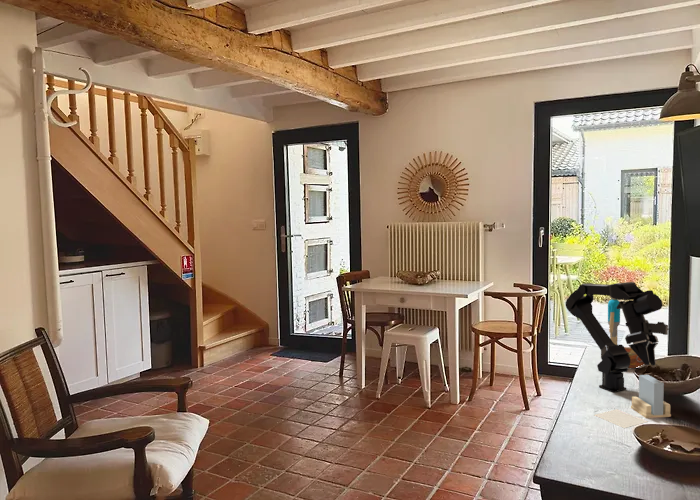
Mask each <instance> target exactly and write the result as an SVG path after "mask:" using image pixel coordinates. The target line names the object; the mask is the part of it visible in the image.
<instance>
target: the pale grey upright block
mask: <svg viewBox="0 0 700 500" xmlns="http://www.w3.org/2000/svg"><path fill="white" fill-rule="evenodd" d="M664 386H665V383H664V382H663V381H660V380H659V379H657V378H655V377H653V376H652V375H649V374H639V375H638V398H640V399H641V400H643V401H644V402H646V403H648V404H649V405H651V414H652V415H663V401H664V394H665V393H664V391H665V389H664Z"/></svg>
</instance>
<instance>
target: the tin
mask: <svg viewBox="0 0 700 500" xmlns="http://www.w3.org/2000/svg"><path fill="white" fill-rule="evenodd" d="M624 348H625V350H626V351H627V352H628V353H629V354H628V355H629V357H630V359H631V362H630V366H629V368H636V367H638V366H641V365H643V364H644V362H643V361H642V360H641V359H640V358H639V357H638V355H637V354H636V353H635V352H634V351H633V350H632V349H631V348H630V347H629V346H624Z"/></svg>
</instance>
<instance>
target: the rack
mask: <svg viewBox="0 0 700 500" xmlns="http://www.w3.org/2000/svg"><path fill="white" fill-rule="evenodd" d="M630 409H632V410H633V411H635V412H636V413H637V414H639V415H641V416H642V417H643V418H645V419H649V418H650V419H651V418H669V417H672V414H671V404H670V403H668V402H666V401H665V400H663V415H652V414H651V405H649V404H648V403H646V402H644V401H643V400H641V399H640V398H639V396H631V405H630Z"/></svg>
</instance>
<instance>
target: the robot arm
mask: <svg viewBox="0 0 700 500" xmlns="http://www.w3.org/2000/svg"><path fill="white" fill-rule="evenodd" d="M595 295H597V296H607V297H611V298H614V299H617V300H618V301H619V304H618V306H617V309H620V310H622V313H623V315H624V316H623V317H624V319H625V322H624V323H625V326H626V327H627V329H628V332H629V334H626V336H625V337H624V340H625V342H626V344H627V345H628V347H630V348H631V349H632V350H633V351H634V352H635V353H636V354H637V355H638V357H639V358H640V359H641V360H642V361H643V362H644V364H645V365H646V366H649V365H651V366H656V354H655V353H656V351H655V349H656V347H657V345H658V344H659V341H660V340H659V339H658V336H657V335H655V334H661V335H665V336H668V334H669V330H670V329H669V325H668V324H666V323H665V322H664V321H657V323H652V322H649V320H648V319H646V318H645V315H646V316H647V315H649V314H651V313H655V312H657V311H660V310H661V309H662V308H663V301H662V299H661V298H660V297H659V296H658V295H657V294H655V293H654V291H653V290H651V289H650V290H646V291H643V290H642V289H641V288H640V287H638V285H636V282H634V281H628V282H626V281H625V282H617V283H612V284H607V283H606V284H605V283H604V284H603V283H592V282H589V283H581V284H580V285H579V286H578V287H577V289H575V290H574V291H573V292H572V293H571V294H569V296H568V298H566V301H565V307H566V309H567V311H568V312H569V313H570V315H572V316H573V317H575V318H577V319H579V320H580V321H581V323H582V324H583V326H584V327H585V329H586V331H588V333H589V334H590V336H591V337H592V339H593V340H594V342H595V343H596V345H597V347H598V348H599V349H600V359H601V361H600V362H599V363H598V364H596V366H597V370H598V371H597V372H600V373H602V375H601V384H599V385H598V387H599V388H601V389H603V390H606V391H609V392H611V393H616V392H621V391H625V390H627V387H625V377H624V373H628V371H629V369H628V368H629V366H630V362H631V359H630V357H629V355H628V354H629V353H628V352H627V351H626V350H625V348H624V347H625V345H623V344H617V345H616V344H614V343H613V342H612V340H611V339H610V336H609V334H608V333H607V332H606V331H605V329H604V327H603V326H602V325H601V323H600V322H599V321H598V319H597V317H596V315H594V313H593V305H592V302H593V301H594V296H595ZM611 298H610V299H611Z"/></svg>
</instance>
